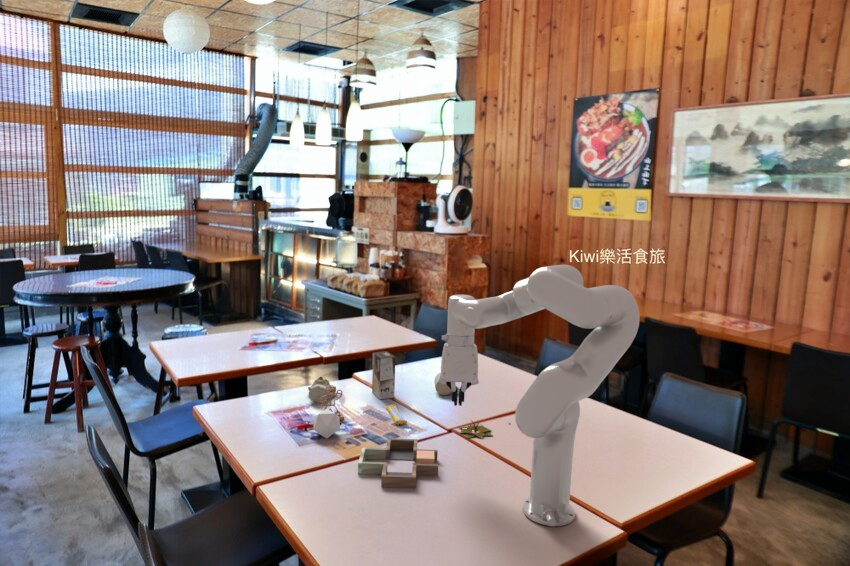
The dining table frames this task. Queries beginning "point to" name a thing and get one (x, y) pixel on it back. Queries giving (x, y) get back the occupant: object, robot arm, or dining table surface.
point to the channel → (396, 451)
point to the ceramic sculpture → (319, 390)
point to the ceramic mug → (442, 386)
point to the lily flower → (476, 428)
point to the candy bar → (395, 414)
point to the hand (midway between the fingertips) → (457, 403)
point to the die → (326, 423)
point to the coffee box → (383, 375)
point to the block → (425, 457)
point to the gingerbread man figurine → (331, 399)
